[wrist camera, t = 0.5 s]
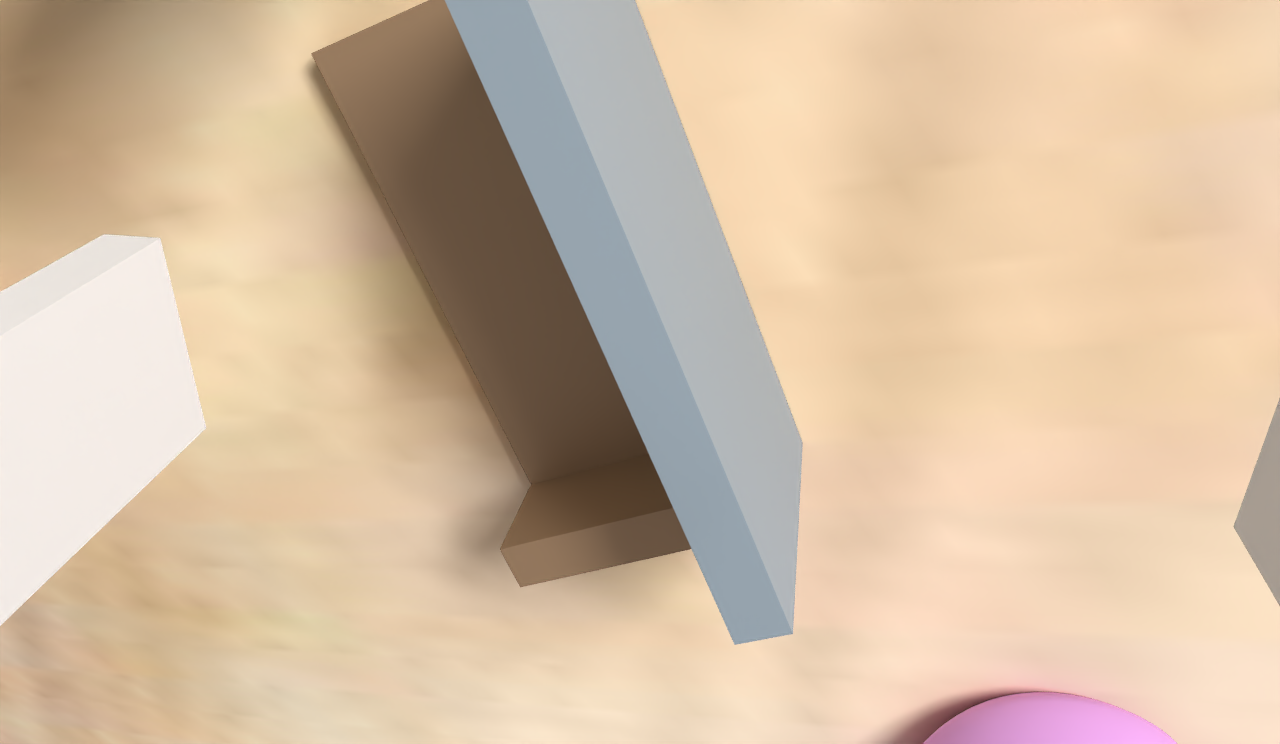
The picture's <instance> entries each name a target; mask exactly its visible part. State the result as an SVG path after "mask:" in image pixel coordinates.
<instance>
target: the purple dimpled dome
mask: <svg viewBox="0 0 1280 744" xmlns="http://www.w3.org/2000/svg"><path fill="white" fill-rule="evenodd" d="M923 744H1177V743H1176V742H1175V741H1174V740H1173V739H1172V738H1171V737H1170V736H1169V735H1168V734H1166V733H1165V732H1164V731H1162V730H1161V729H1159V728H1158V727H1157V726H1155V725H1154V724H1152V723H1150V722H1148V721H1147V720H1145V719H1143V718H1141V717H1139V716H1137V715H1135V714H1133V713H1130V712H1128V711H1126V710H1123V709H1121V708H1119V707H1116V706H1114V705H1111V704H1108V703H1105V702H1101V701H1098V700H1095V699H1091V698H1087V697H1082V696H1077V695H1072V694H1065V693H1055V692H1029V693H1018V694H1012V695H1007V696H1002V697H998V698H995V699H991V700H988V701H985V702H983V703H980V704H978V705H975V706H973V707H971V708H969V709H967V710H965V711H963V712H962V713H960V714H958V715H956V716H955V717H953V718H952V719H951V720H949V721H948V722H946V723H945V724H944V725H942V726H941V727H940V728H938V729H937V730H936V731H935V732H934V733H933V734H932V735H931V736H930V737H929V738H928V739H927V740H925V741H924V743H923Z"/></svg>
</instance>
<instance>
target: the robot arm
mask: <svg viewBox="0 0 1280 744" xmlns="http://www.w3.org/2000/svg"><path fill="white" fill-rule="evenodd" d="M204 429H206V425H205V421H204V417H203V413H202V409H201V404H200V400H199V396H198V392H197V388H196V384H195V380H194V376H193V371H192V367H191V363H190V359H189V355H188V351H187V347H186V343H185V338H184V334H183V330H182V326H181V322H180V318H179V314H178V310H177V305H176V301H175V297H174V293H173V289H172V285H171V281H170V277H169V272H168V268H167V264H166V260H165V256H164V252H163V248H162V244H161V239H160V238H152V237H137V236H122V235H107V234H103V235H102V236H100V237H98V238H96V239H94V240H93V241H91V242H89V243H87V244H85V245H84V246H82V247H80V248H78V249H76V250H75V251H73V252H71V253H69V254H67V255H66V256H64V257H62V258H60V259H59V260H57V261H55V262H53V263H51V264H50V265H48V266H46V267H44V268H42V269H41V270H39V271H37V272H35V273H33V274H32V275H30V276H28V277H26V278H24V279H23V280H21V281H19V282H17V283H15V284H14V285H12V286H10V287H8V288H6V289H5V290H3V291H1V292H0V626H1V625H2V624H3V623H4V622H5V621H6V620H7V619H8V618H9V617H10V616H11V615H12V614H13V613H14V612H15V611H16V610H17V609H18V608H19V607H20V606H21V605H22V604H23V603H24V602H26V601H27V600H28V599H29V598H30V597H31V596H32V595H33V594H34V593H35V592H36V591H37V590H38V589H39V588H40V587H41V586H42V585H43V584H44V583H45V582H46V581H47V580H48V579H49V578H50V577H52V576H53V575H54V574H55V573H56V572H57V571H58V570H59V569H60V568H61V567H62V566H63V565H64V564H65V563H66V562H67V561H68V560H69V559H70V558H71V557H72V556H73V555H74V554H75V553H77V552H78V551H79V550H80V549H81V548H82V547H83V546H84V545H85V544H86V543H87V542H88V541H89V540H90V539H91V538H92V537H93V536H94V535H95V534H96V533H97V532H98V531H99V530H100V529H101V528H103V527H104V526H105V525H106V524H107V523H108V522H109V521H110V520H111V519H112V518H113V517H114V516H115V515H116V514H117V513H118V512H119V511H120V510H121V509H122V508H123V507H124V506H125V505H126V504H127V503H129V502H130V501H131V500H132V499H133V498H134V497H135V496H136V495H137V494H138V493H139V492H140V491H141V490H142V489H143V488H144V487H145V486H146V485H147V484H148V483H149V482H150V481H151V480H152V479H154V478H155V477H156V476H157V475H158V474H159V473H160V472H161V471H162V470H163V469H164V468H165V467H166V466H167V465H168V464H169V463H170V462H171V461H172V460H173V459H174V458H175V457H176V456H177V455H178V454H180V453H181V452H182V451H183V450H184V449H185V448H186V447H187V446H188V445H189V444H190V443H191V442H192V441H193V440H194V439H195V438H196V437H197V436H198V435H199V434H200V433H201V432H202V431H203V430H204ZM1234 528H1235V530H1236V532H1237V534H1238V535H1239V537H1240V539H1241V540H1242V542H1243V544H1244V545H1245V547H1246V549H1247V551H1248V552H1249V554H1250V556H1251V557H1252V559H1253V561H1254V563H1255V564H1256V566H1257V568H1258V569H1259V571H1260V573H1261V575H1262V576H1263V578H1264V580H1265V581H1266V583H1267V585H1268V587H1269V588H1270V590H1271V592H1272V593H1273V595H1274V597H1275V599H1276V600H1277V602H1278V604H1279V605H1280V399H1279V402H1278V405H1277V407H1276V410H1275V413H1274V416H1273V418H1272V421H1271V424H1270V427H1269V430H1268V432H1267V435H1266V438H1265V441H1264V443H1263V446H1262V449H1261V452H1260V455H1259V457H1258V460H1257V463H1256V466H1255V468H1254V471H1253V474H1252V477H1251V480H1250V482H1249V485H1248V488H1247V491H1246V493H1245V496H1244V499H1243V502H1242V505H1241V507H1240V510H1239V513H1238V516H1237V518H1236V521H1235V524H1234Z"/></svg>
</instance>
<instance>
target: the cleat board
mask: <svg viewBox="0 0 1280 744" xmlns="http://www.w3.org/2000/svg"><path fill="white" fill-rule="evenodd" d="M311 54H312V56H313V58H314V60H315V62H316V64H317V66H318V68H319V70H320V72H321V74H322V76H323V78H324V80H325V82H326V83H327V85H328V87H329V89H330V91H331V93H332V95H333V97H334V99H335V101H336V103H337V105H338V107H339V109H340V111H341V113H342V115H343V117H344V119H345V121H346V123H347V125H348V127H349V129H350V130H351V132H352V134H353V136H354V138H355V140H356V142H357V144H358V146H359V148H360V150H361V152H362V154H363V156H364V158H365V160H366V162H367V164H368V166H369V168H370V170H371V172H372V174H373V176H374V178H375V179H376V181H377V183H378V185H379V187H380V189H381V191H382V193H383V195H384V197H385V199H386V201H387V203H388V205H389V207H390V209H391V211H392V213H393V215H394V217H395V219H396V221H397V223H398V225H399V226H400V228H401V230H402V232H403V234H404V236H405V238H406V240H407V242H408V244H409V246H410V248H411V250H412V252H413V254H414V256H415V258H416V260H417V262H418V264H419V266H420V268H421V270H422V272H423V273H424V275H425V277H426V279H427V281H428V283H429V285H430V287H431V289H432V291H433V293H434V295H435V297H436V299H437V301H438V303H439V305H440V307H441V309H442V311H443V313H444V315H445V317H446V319H447V321H448V322H449V324H450V326H451V328H452V330H453V332H454V334H455V336H456V338H457V340H458V342H459V344H460V346H461V348H462V350H463V352H464V354H465V356H466V358H467V360H468V362H469V364H470V366H471V368H472V369H473V371H474V373H475V375H476V377H477V379H478V381H479V383H480V385H481V387H482V389H483V391H484V393H485V395H486V397H487V399H488V401H489V403H490V405H491V407H492V409H493V411H494V413H495V415H496V416H497V418H498V420H499V422H500V424H501V426H502V428H503V430H504V432H505V434H506V436H507V438H508V440H509V442H510V444H511V446H512V448H513V450H514V452H515V454H516V456H517V458H518V460H519V462H520V464H521V465H522V467H523V469H524V471H525V473H526V475H527V477H528V479H529V481H530V483H531V486H530V488H529V490H528V492H527V494H526V496H525V498H524V500H523V502H522V504H521V506H520V509H519V511H518V513H517V515H516V517H515V519H514V521H513V523H512V525H511V527H510V529H509V531H508V534H507V536H506V538H505V540H504V542H503V544H502V546H501V548H500V550H501V552H502V554H503V556H504V558H505V560H506V562H507V563H508V565H509V567H510V569H511V571H512V573H513V575H514V576H515V578H516V580H517V582H518V584H519V586H520V587H523V586H528V585H532V584H537V583H541V582H546V581H550V580H555V579H559V578H564V577H568V576H573V575H577V574H582V573H586V572H591V571H595V570H599V569H604V568H608V567H613V566H617V565H622V564H626V563H631V562H635V561H640V560H644V559H649V558H653V557H658V556H662V555H667V554H671V553H675V552H680V551H684V550H689V549H692V551H693V553H694V555H695V557H696V560H697V562H698V564H699V566H700V569H701V571H702V573H703V575H704V577H705V580H706V582H707V584H708V586H709V589H710V591H711V593H712V595H713V597H714V600H715V602H716V604H717V606H718V609H719V611H720V613H721V615H722V617H723V620H724V622H725V624H726V626H727V629H728V631H729V633H730V635H731V637H732V640H733V642H734V644H735V645H736V644H741V643H747V642H752V641H757V640H762V639H768V638H773V637H778V636H784V635H789V634H793V621H794V601H795V582H796V562H797V542H798V523H799V503H800V484H801V464H802V444H803V443H802V440H801V437H800V435H799V432H798V430H797V427H796V424H795V422H794V419H793V416H792V414H791V411H790V408H789V406H788V403H787V400H786V398H785V395H784V393H783V390H782V387H781V385H780V382H779V379H778V377H777V374H776V371H775V369H774V366H773V364H772V361H771V358H770V356H769V353H768V350H767V348H766V345H765V342H764V340H763V337H762V334H761V332H760V329H759V327H758V324H757V321H756V319H755V316H754V313H753V311H752V308H751V305H750V303H749V300H748V297H747V295H746V292H745V290H744V287H743V284H742V282H741V279H740V276H739V274H738V271H737V268H736V266H735V263H734V261H733V258H732V255H731V253H730V250H729V247H728V245H727V242H726V239H725V237H724V234H723V231H722V229H721V226H720V224H719V221H718V218H717V216H716V213H715V210H714V208H713V205H712V202H711V200H710V197H709V194H708V192H707V189H706V187H705V184H704V181H703V179H702V176H701V173H700V171H699V168H698V165H697V163H696V160H695V158H694V155H693V152H692V150H691V147H690V144H689V142H688V139H687V136H686V134H685V131H684V128H683V126H682V123H681V121H680V118H679V115H678V113H677V110H676V107H675V105H674V102H673V99H672V97H671V94H670V91H669V89H668V86H667V84H666V81H665V78H664V76H663V73H662V70H661V68H660V65H659V62H658V60H657V57H656V55H655V52H654V49H653V47H652V44H651V41H650V39H649V36H648V33H647V31H646V28H645V25H644V23H643V20H642V18H641V15H640V12H639V10H638V7H637V4H636V2H635V0H429V1H427V2H424V3H422V4H420V5H418V6H416V7H413V8H411V9H409V10H407V11H405V12H402V13H400V14H398V15H396V16H393V17H391V18H389V19H387V20H385V21H382V22H380V23H378V24H376V25H373V26H371V27H369V28H367V29H365V30H362V31H360V32H358V33H356V34H353V35H351V36H349V37H347V38H345V39H342V40H340V41H338V42H336V43H333V44H331V45H329V46H327V47H325V48H322V49H320V50H318V51H316V52H313V53H311Z"/></svg>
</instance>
